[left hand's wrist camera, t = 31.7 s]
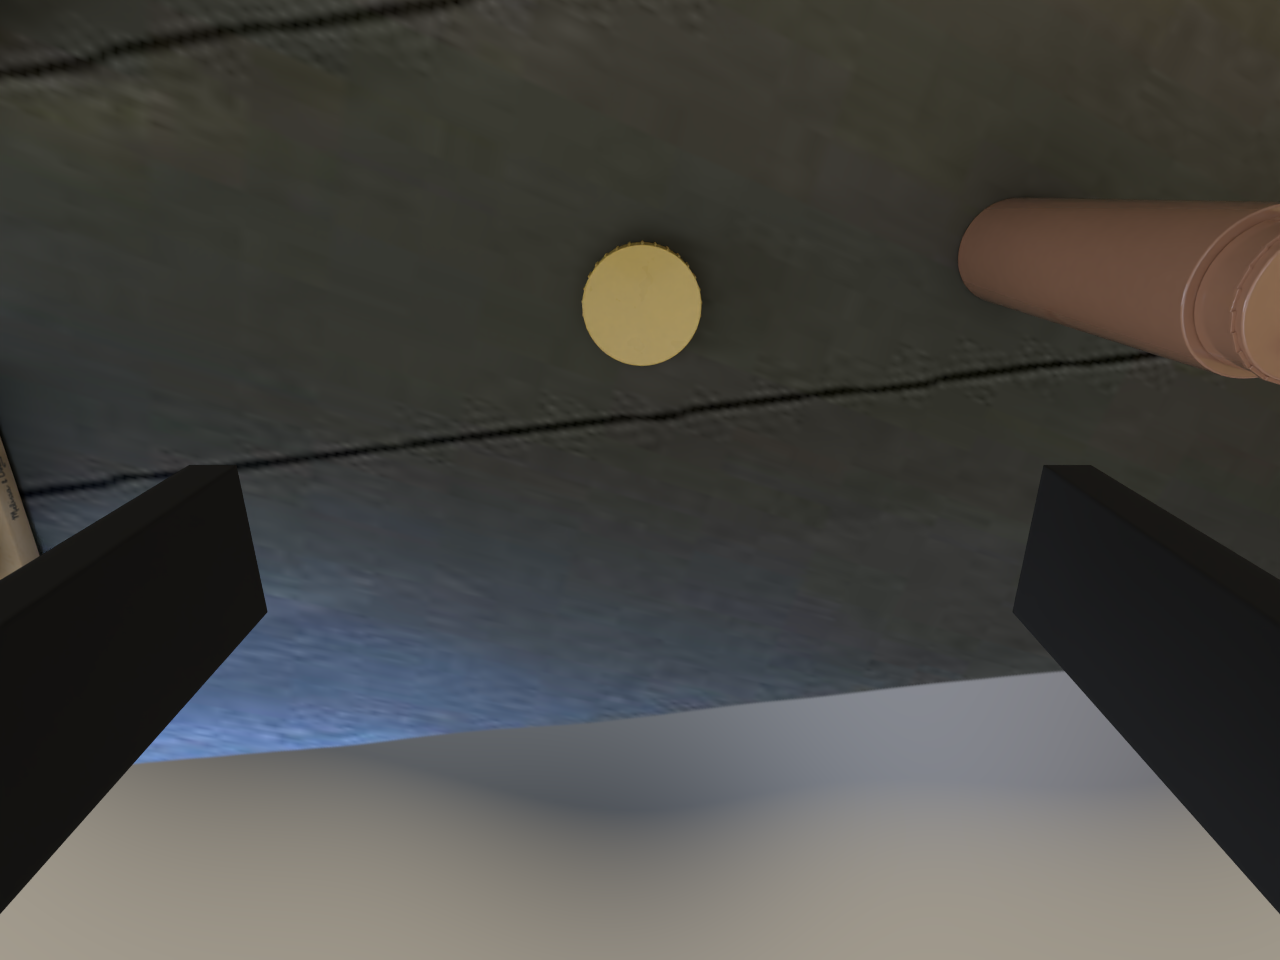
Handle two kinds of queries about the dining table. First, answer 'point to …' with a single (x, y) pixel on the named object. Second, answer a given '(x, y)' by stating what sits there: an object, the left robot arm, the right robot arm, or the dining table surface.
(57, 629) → the left robot arm
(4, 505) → the pounding bench toy
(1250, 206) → the jar
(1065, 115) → the dining table surface
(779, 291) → the dining table surface
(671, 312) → the lid
